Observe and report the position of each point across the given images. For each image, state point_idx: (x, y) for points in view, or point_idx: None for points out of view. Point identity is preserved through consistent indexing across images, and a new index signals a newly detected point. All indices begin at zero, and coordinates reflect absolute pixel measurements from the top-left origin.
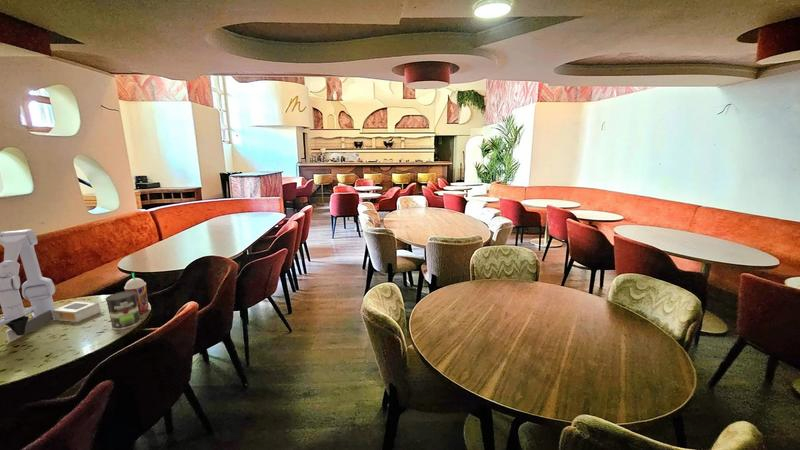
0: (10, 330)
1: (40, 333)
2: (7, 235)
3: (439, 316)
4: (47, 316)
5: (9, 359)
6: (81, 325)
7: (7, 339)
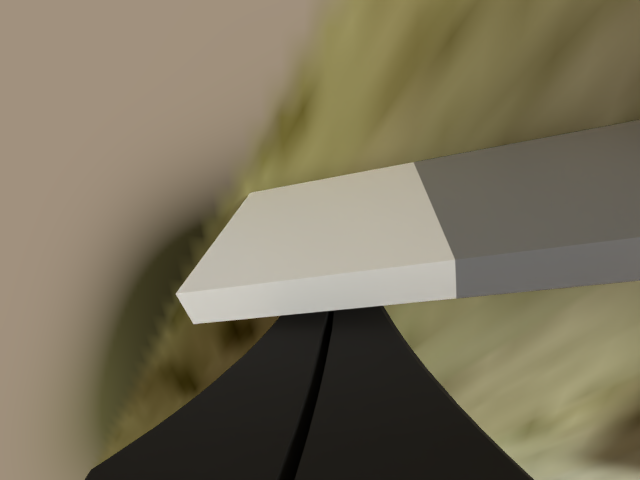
0: (255, 305)
1: (470, 310)
2: None
3: None
4: None
5: (132, 422)
6: (582, 471)
7: (238, 211)
